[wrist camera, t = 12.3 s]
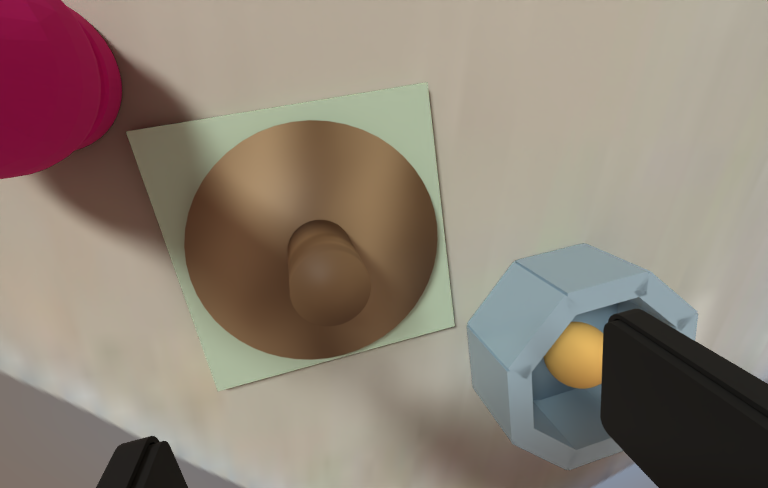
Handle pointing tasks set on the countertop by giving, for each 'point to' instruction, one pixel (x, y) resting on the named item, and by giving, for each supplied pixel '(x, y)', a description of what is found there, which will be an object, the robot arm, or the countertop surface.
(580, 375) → the clementine
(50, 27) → the pepper mill
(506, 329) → the bowl
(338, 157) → the lid
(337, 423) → the countertop surface
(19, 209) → the countertop surface
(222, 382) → the mat
